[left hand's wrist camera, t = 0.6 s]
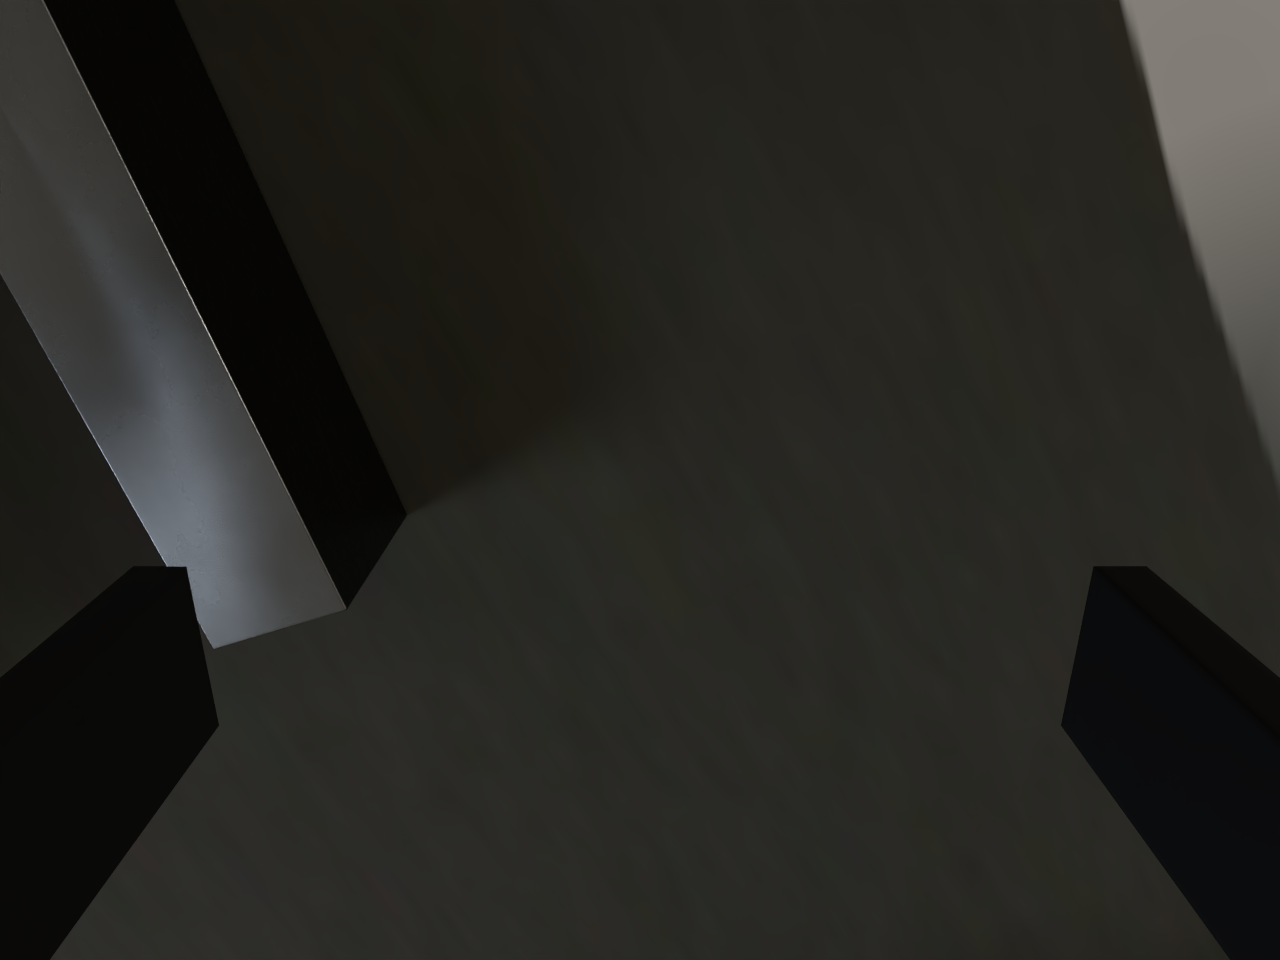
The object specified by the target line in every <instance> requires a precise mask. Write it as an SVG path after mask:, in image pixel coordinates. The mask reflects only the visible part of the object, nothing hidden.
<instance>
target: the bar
mask: <svg viewBox="0 0 1280 960" xmlns="http://www.w3.org/2000/svg"><path fill="white" fill-rule="evenodd" d="M0 274H1V276H2V278H3V280H4V282H5V283H6V285H7V287H8V289H9V290H10V292H11V294H12V296H13V297H14V299H15V301H16V303H17V304H18V306H19V308H20V310H21V311H22V313H23V315H24V317H25V318H26V320H27V322H28V324H29V326H30V327H31V329H32V331H33V333H34V334H35V336H36V338H37V340H38V341H39V343H40V345H41V347H42V348H43V350H44V352H45V354H46V355H47V357H48V359H49V361H50V363H51V364H52V366H53V368H54V370H55V371H56V373H57V375H58V377H59V378H60V380H61V382H62V384H63V385H64V387H65V389H66V391H67V392H68V394H69V396H70V398H71V399H72V401H73V403H74V405H75V407H76V408H77V410H78V412H79V414H80V415H81V417H82V419H83V421H84V422H85V424H86V426H87V428H88V429H89V431H90V433H91V435H92V436H93V438H94V440H95V442H96V443H97V445H98V447H99V449H100V451H101V452H102V454H103V456H104V458H105V459H106V461H107V463H108V465H109V466H110V468H111V470H112V472H113V473H114V475H115V477H116V479H117V480H118V482H119V484H120V486H121V488H122V489H123V491H124V493H125V495H126V496H127V498H128V500H129V502H130V503H131V505H132V507H133V509H134V510H135V512H136V514H137V516H138V517H139V519H140V521H141V523H142V524H143V526H144V528H145V530H146V532H147V533H148V535H149V537H150V539H151V540H152V542H153V544H154V546H155V547H156V549H157V551H158V553H159V554H160V556H161V558H162V560H163V561H164V563H165V565H166V566H186V567H187V572H188V577H189V582H190V586H191V591H192V596H193V601H194V606H195V611H196V616H197V621H198V623H199V625H200V627H201V628H202V630H203V632H204V634H205V635H206V637H207V639H208V641H209V642H210V644H211V646H212V648H213V649H218V648H221V647H224V646H228V645H231V644H234V643H238V642H241V641H244V640H248V639H251V638H254V637H258V636H261V635H264V634H268V633H271V632H274V631H278V630H281V629H284V628H288V627H291V626H294V625H298V624H301V623H304V622H308V621H311V620H314V619H318V618H321V617H324V616H328V615H331V614H334V613H338V612H341V611H344V610H346V609H347V608H348V607H349V605H350V604H351V602H352V601H353V599H354V597H355V596H356V594H357V593H358V591H359V590H360V588H361V586H362V585H363V583H364V582H365V580H366V579H367V577H368V576H369V574H370V572H371V571H372V569H373V568H374V566H375V565H376V563H377V561H378V560H379V558H380V557H381V555H382V554H383V552H384V551H385V549H386V547H387V546H388V544H389V543H390V541H391V540H392V538H393V536H394V535H395V533H396V532H397V530H398V529H399V527H400V525H401V524H402V522H403V521H404V519H405V518H406V516H407V514H406V512H405V510H404V508H403V506H402V503H401V501H400V499H399V497H398V495H397V492H396V490H395V488H394V486H393V484H392V481H391V479H390V477H389V475H388V473H387V470H386V468H385V466H384V464H383V461H382V459H381V457H380V455H379V453H378V450H377V448H376V446H375V444H374V442H373V439H372V437H371V435H370V433H369V431H368V428H367V426H366V424H365V422H364V419H363V417H362V415H361V413H360V411H359V408H358V406H357V404H356V402H355V400H354V397H353V395H352V393H351V391H350V389H349V386H348V384H347V382H346V380H345V377H344V375H343V373H342V371H341V369H340V366H339V364H338V362H337V360H336V358H335V355H334V353H333V351H332V349H331V347H330V344H329V342H328V340H327V338H326V335H325V333H324V331H323V329H322V327H321V324H320V322H319V320H318V318H317V316H316V313H315V311H314V309H313V307H312V305H311V302H310V300H309V298H308V296H307V293H306V291H305V289H304V287H303V285H302V282H301V280H300V278H299V276H298V274H297V271H296V269H295V267H294V265H293V263H292V260H291V258H290V256H289V254H288V251H287V249H286V247H285V245H284V243H283V240H282V238H281V236H280V234H279V232H278V229H277V227H276V225H275V223H274V221H273V218H272V216H271V214H270V212H269V209H268V207H267V205H266V203H265V201H264V198H263V196H262V194H261V192H260V190H259V187H258V185H257V183H256V181H255V179H254V176H253V174H252V172H251V170H250V167H249V165H248V163H247V161H246V159H245V156H244V154H243V152H242V150H241V148H240V145H239V143H238V141H237V139H236V137H235V134H234V132H233V130H232V128H231V125H230V123H229V121H228V119H227V117H226V114H225V112H224V110H223V108H222V106H221V103H220V101H219V99H218V97H217V95H216V92H215V90H214V88H213V86H212V83H211V81H210V79H209V77H208V75H207V72H206V70H205V68H204V66H203V64H202V61H201V59H200V57H199V55H198V53H197V50H196V48H195V46H194V44H193V42H192V39H191V37H190V35H189V33H188V30H187V28H186V26H185V24H184V22H183V19H182V17H181V15H180V13H179V11H178V8H177V6H176V4H175V2H174V0H0Z"/></svg>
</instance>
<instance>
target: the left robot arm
mask: <svg viewBox="0 0 1280 960" xmlns="http://www.w3.org/2000/svg"><path fill="white" fill-rule="evenodd" d="M218 726H219V723H218V719H217V714H216V709H215V704H214V699H213V694H212V689H211V684H210V679H209V674H208V670H207V665H206V660H205V655H204V650H203V645H202V640H201V635H200V630H199V626H198V621H197V616H196V611H195V606H194V601H193V596H192V591H191V586H190V582H189V577H188V572H187V567H186V566H133V567H132V568H131V569H130V570H129V571H127V572H126V573H125V574H124V575H123V576H121V577H120V578H119V579H118V580H117V581H115V582H114V583H113V584H112V585H111V586H109V587H108V588H107V589H106V590H105V591H103V592H102V593H101V594H100V595H99V596H98V597H96V598H95V599H94V600H93V601H92V602H90V603H89V604H88V605H87V606H86V607H84V608H83V609H82V610H81V611H80V612H78V613H77V614H76V615H75V616H74V617H72V618H71V619H70V620H69V621H68V622H66V623H65V624H64V625H63V626H62V627H60V628H59V629H58V630H57V631H56V632H54V633H53V634H52V635H51V636H50V637H49V638H47V639H46V640H45V641H44V642H43V643H41V644H40V645H39V646H38V647H37V648H35V649H34V650H33V651H32V652H31V653H29V654H28V655H27V656H26V657H25V658H23V659H22V660H21V661H20V662H19V663H17V664H16V665H15V666H14V667H13V668H11V669H10V670H9V671H8V672H7V673H6V674H4V675H3V676H2V677H1V678H0V960H50V959H51V957H52V956H53V954H54V953H55V952H56V950H57V949H58V948H59V946H60V945H61V943H62V942H63V941H64V939H65V938H66V936H67V935H68V934H69V932H70V931H71V930H72V928H73V927H74V925H75V924H76V923H77V921H78V920H79V918H80V917H81V916H82V914H83V913H84V912H85V910H86V909H87V907H88V906H89V905H90V903H91V902H92V900H93V899H94V898H95V896H96V895H97V894H98V892H99V891H100V889H101V888H102V887H103V885H104V884H105V882H106V881H107V880H108V878H109V877H110V876H111V874H112V873H113V871H114V870H115V869H116V867H117V866H118V864H119V863H120V862H121V860H122V859H123V858H124V856H125V855H126V853H127V852H128V851H129V849H130V848H131V846H132V845H133V844H134V842H135V841H136V840H137V838H138V837H139V835H140V834H141V833H142V831H143V830H144V828H145V827H146V826H147V824H148V823H149V822H150V820H151V819H152V817H153V816H154V815H155V813H156V812H157V810H158V809H159V808H160V806H161V805H162V804H163V802H164V801H165V799H166V798H167V797H168V795H169V794H170V792H171V791H172V790H173V788H174V787H175V786H176V784H177V783H178V781H179V780H180V779H181V777H182V776H183V774H184V773H185V772H186V770H187V769H188V768H189V766H190V765H191V763H192V762H193V761H194V759H195V758H196V756H197V755H198V754H199V752H200V751H201V750H202V748H203V747H204V745H205V744H206V743H207V741H208V740H209V738H210V737H211V736H212V734H213V733H214V732H215V730H216V729H217V727H218ZM1061 726H1062V727H1063V729H1064V730H1065V732H1066V733H1067V734H1068V736H1069V737H1070V738H1071V740H1072V741H1073V743H1074V744H1075V745H1076V747H1077V748H1078V750H1079V751H1080V752H1081V754H1082V755H1083V756H1084V758H1085V759H1086V761H1087V762H1088V763H1089V765H1090V766H1091V768H1092V769H1093V770H1094V772H1095V773H1096V774H1097V776H1098V777H1099V779H1100V780H1101V781H1102V783H1103V784H1104V786H1105V787H1106V788H1107V790H1108V791H1109V792H1110V794H1111V795H1112V797H1113V798H1114V799H1115V801H1116V802H1117V804H1118V805H1119V806H1120V808H1121V809H1122V810H1123V812H1124V813H1125V815H1126V816H1127V817H1128V819H1129V820H1130V822H1131V823H1132V824H1133V826H1134V827H1135V828H1136V830H1137V831H1138V833H1139V834H1140V835H1141V837H1142V838H1143V840H1144V841H1145V842H1146V844H1147V845H1148V846H1149V848H1150V849H1151V851H1152V852H1153V853H1154V855H1155V856H1156V858H1157V859H1158V860H1159V862H1160V863H1161V864H1162V866H1163V867H1164V869H1165V870H1166V871H1167V873H1168V874H1169V876H1170V877H1171V878H1172V880H1173V881H1174V882H1175V884H1176V885H1177V887H1178V888H1179V889H1180V891H1181V892H1182V894H1183V895H1184V896H1185V898H1186V899H1187V900H1188V902H1189V903H1190V905H1191V906H1192V907H1193V909H1194V910H1195V912H1196V913H1197V914H1198V916H1199V917H1200V918H1201V920H1202V921H1203V923H1204V924H1205V925H1206V927H1207V928H1208V930H1209V931H1210V932H1211V934H1212V935H1213V936H1214V938H1215V939H1216V941H1217V942H1218V943H1219V945H1220V946H1221V948H1222V949H1223V950H1224V952H1225V953H1226V954H1227V956H1228V957H1229V959H1230V960H1280V678H1279V677H1278V676H1277V675H1276V674H1274V673H1273V672H1272V671H1271V670H1270V669H1269V668H1267V667H1266V666H1265V665H1264V664H1263V663H1261V662H1260V661H1259V660H1258V659H1257V658H1255V657H1254V656H1253V655H1252V654H1251V653H1249V652H1248V651H1247V650H1246V649H1245V648H1243V647H1242V646H1241V645H1240V644H1239V643H1237V642H1236V641H1235V640H1234V639H1233V638H1231V637H1230V636H1229V635H1228V634H1227V633H1226V632H1224V631H1223V630H1222V629H1221V628H1220V627H1218V626H1217V625H1216V624H1215V623H1214V622H1212V621H1211V620H1210V619H1209V618H1208V617H1206V616H1205V615H1204V614H1203V613H1202V612H1200V611H1199V610H1198V609H1197V608H1196V607H1194V606H1193V605H1192V604H1191V603H1190V602H1188V601H1187V600H1186V599H1185V598H1184V597H1182V596H1181V595H1180V594H1179V593H1178V592H1177V591H1175V590H1174V589H1173V588H1172V587H1171V586H1169V585H1168V584H1167V583H1166V582H1165V581H1163V580H1162V579H1161V578H1160V577H1159V576H1157V575H1156V574H1155V573H1154V572H1153V571H1151V570H1150V569H1149V568H1148V567H1147V566H1094V567H1093V572H1092V577H1091V582H1090V586H1089V591H1088V596H1087V601H1086V606H1085V611H1084V616H1083V621H1082V626H1081V630H1080V635H1079V640H1078V645H1077V650H1076V655H1075V660H1074V665H1073V670H1072V674H1071V679H1070V684H1069V689H1068V694H1067V699H1066V704H1065V709H1064V714H1063V719H1062V723H1061Z"/></svg>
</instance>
